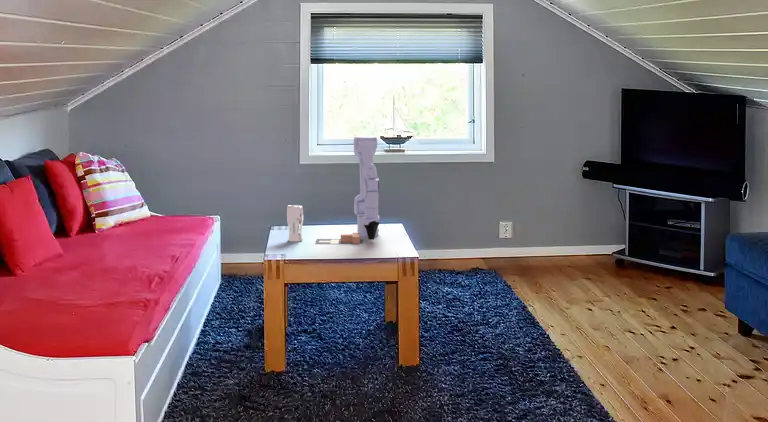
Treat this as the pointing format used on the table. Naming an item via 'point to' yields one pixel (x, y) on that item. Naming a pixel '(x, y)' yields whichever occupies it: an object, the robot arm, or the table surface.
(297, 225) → the beer glass
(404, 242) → the table surface
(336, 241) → the t mat
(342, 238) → the t block
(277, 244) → the table surface
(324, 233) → the table surface
